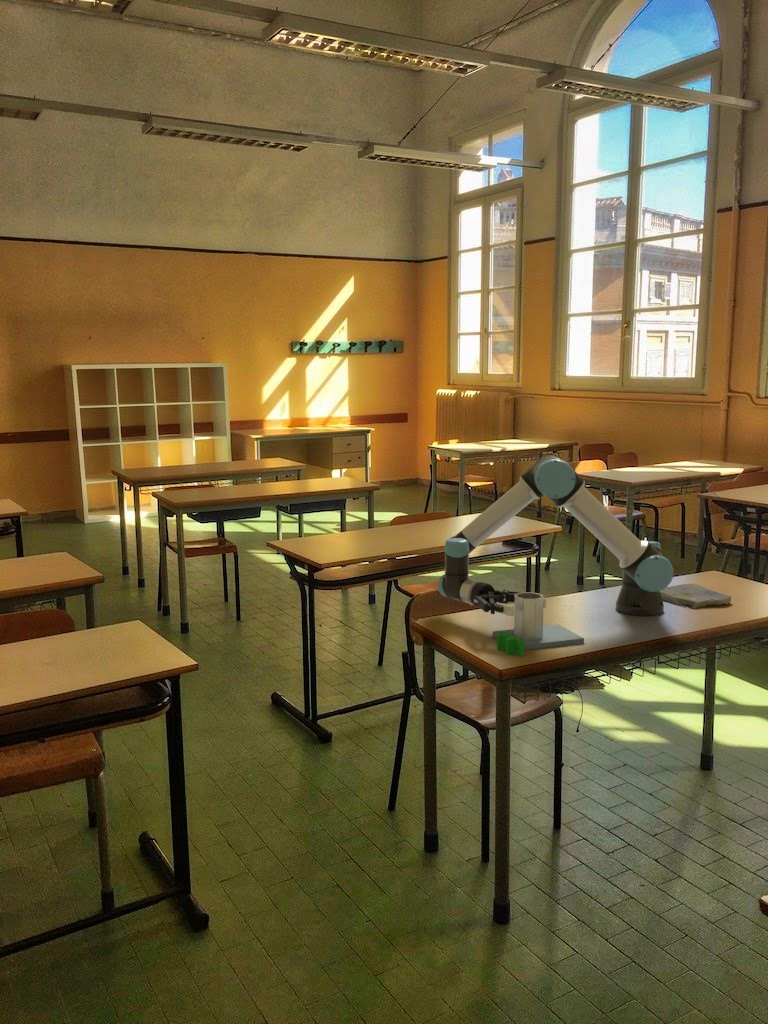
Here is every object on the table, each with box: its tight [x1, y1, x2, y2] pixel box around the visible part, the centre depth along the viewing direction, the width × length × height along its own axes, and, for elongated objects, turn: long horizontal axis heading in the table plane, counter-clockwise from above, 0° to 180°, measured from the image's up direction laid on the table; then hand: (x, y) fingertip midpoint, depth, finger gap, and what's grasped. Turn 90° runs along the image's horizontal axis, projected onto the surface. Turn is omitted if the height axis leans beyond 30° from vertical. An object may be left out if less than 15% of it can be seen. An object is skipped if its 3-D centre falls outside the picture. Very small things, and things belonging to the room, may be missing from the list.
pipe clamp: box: [496, 629, 525, 657], centre depth 241 cm, size 11×4×5 cm, turn 24°
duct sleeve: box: [513, 591, 545, 640], centre depth 250 cm, size 8×8×12 cm
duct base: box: [492, 624, 585, 651], centre depth 251 cm, size 22×15×8 cm
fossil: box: [660, 583, 732, 609], centre depth 294 cm, size 20×5×17 cm
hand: (529, 607), depth 249 cm, fingers open, 13 cm apart
